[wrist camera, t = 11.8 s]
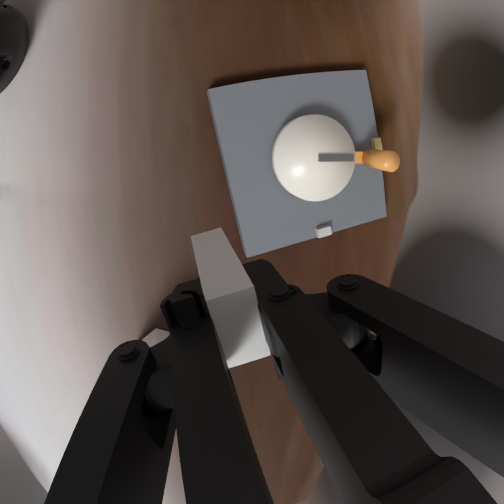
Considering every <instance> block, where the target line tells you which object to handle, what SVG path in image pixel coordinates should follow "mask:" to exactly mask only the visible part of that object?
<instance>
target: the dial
mask: <svg viewBox="0 0 504 504" xmlns="http://www.w3.org/2000/svg"><path fill="white" fill-rule="evenodd" d="M355 164H364V165H365V166H367V167H370V168H375V169H380V170H384V171H389V172H394V171H396V170H397V169H398V167H399V164H400V159H399V156H398V154H397V153H396V152H394V151H388V150H380V149H371V148H368V149H366V150H365V151H355V149H354V145H353V142H352V139H351V137H350V135H349V134H348V132H347V131H346V129H345V128H344V127H343V126H342V125H341V124H340V123H339V122H337V121H336V120H334V119H332V118H330V117H328V116H324V115H318V114H313V115H305V116H300V117H297V118H294V119H292V120H290V121H289V122H288V123H286V124H285V125H284V126H283V127H282V128H281V129H280V130H279V132H278V133H277V135H276V137H275V139H274V141H273V145H272V149H271V165H272V170H273V172H274V175H275V177H276V179H277V181H278V182H279V183H280V185H281V186H282V187H283V188H284V189H285V190H286V191H288V192H289V193H291V194H292V195H294V196H297V197H299V198H301V199H304V200H307V201H323V200H327V199H329V198H332V197H333V196H335V195H337V194H338V193H339V192H341V191H342V190H343V189H344V188H345V186H346V185H347V184H348V182H349V180H350V179H351V176H352V174H353V171H354V166H355Z"/></svg>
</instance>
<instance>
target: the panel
mask: <svg viewBox="0 0 504 504" xmlns="http://www.w3.org/2000/svg"><path fill="white" fill-rule="evenodd" d="M207 97H208V101H209V105H210V110H211V114H212V118H213V123H214V127H215V131H216V136H217V140H218V144H219V149H220V153H221V157H222V161H223V166H224V170H225V174H226V179H227V183H228V187H229V191H230V196H231V200H232V204H233V208H234V213H235V217H236V221H237V225H238V229H239V234H240V238H241V242H242V246H243V250H244V253H245V255H246V256H247V258H248V257H251V256H255V255H258V254H261V253H265V252H268V251H272V250H275V249H278V248H282V247H285V246H289V245H292V244H295V243H299V242H302V241H306V240H309V239H312V238H316V237H318V238H321V237H325V236H328V235H332V232H336V231H339V230H343V229H346V228H349V227H353V226H356V225H359V224H363V223H366V222H369V221H373V220H376V219H380V218H383V217H386V204H385V192H384V182H383V173H382V170H380V169H375V168H370V167H367V166H365V165H364V164H355V166H354V171H353V174H352V176H351V179H350V180H349V182H348V184H347V185H346V186H345V188H344V189H343V190H342V191H341V192H339V193H338V194H337V195H335V196H333V197H332V198H329V199H327V200H323V201H307V200H304V199H301V198H299V197H297V196H294V195H292V194H291V193H289V192H288V191H286V190H285V189H284V188H283V187H282V186H281V185H280V183H279V182H278V181H277V179H276V177H275V175H274V172H273V170H272V165H271V149H272V145H273V141H274V139H275V137H276V135H277V133H278V132H279V130H280V129H281V128H282V127H283V126H284V125H285V124H286V123H288V122H289V121H290V120H292V119H294V118H297V117H300V116H305V115H313V114H318V115H324V116H328V117H330V118H332V119H334V120H336V121H337V122H339V123H340V124H341V125H342V126H343V127H344V128H345V129H346V131H347V132H348V134H349V135H350V137H351V139H352V142H353V145H354V149H355V151H365V150H366V149H368V148H371V149H380V150H382V144H381V138H378V134H377V127H376V121H375V115H374V109H373V103H372V98H371V93H370V88H369V83H368V78H367V73H366V70H348V71H332V72H319V73H308V74H299V75H290V76H282V77H275V78H268V79H261V80H255V81H249V82H243V83H237V84H232V85H226V86H221V87H217V88H212V89H208V90H207Z"/></svg>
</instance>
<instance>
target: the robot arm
mask: <svg viewBox="0 0 504 504" xmlns="http://www.w3.org/2000/svg"><path fill="white" fill-rule="evenodd" d="M5 1H6V0H0V93H1V92H2V91H3V90H4V89H5V88H6V87H7V86H8V84H9V83H10V82H11V81H12V79H13V78H14V76H15V75H16V73H17V71H18V70H19V68H20V66H21V63H22V61H23V59H24V56H25V53H26V49H27V45H28V26H27V22H26V20H25V18H24V17H23V15H22V14H21V13H20V12H19V11H17V10H16V9H15V8H13V7H11V6H9V5H6V4H2V3H3V2H5ZM191 240H192V245H193V249H194V254H195V259H196V263H197V268H198V272H199V277H200V278H198V279H195V280H191V281H188V282H185V283H181V284H178V285H177V286H176V287H175V289H174V290H173V293H172V294H170V295H169V296H167V297H166V298H165V299H164V300H163V301H162V302H161V305H160V307H161V309H162V312H163V314H164V317H165V319H166V322H167V324H168V327H169V333H170V335H169V336H168V337H167V338H166V339H164V340H163V341H161V342H159V343H158V344H156V345H154V346H152V347H149V346H148V344H147V343H146V342H145V341H142V340H132V341H127V342H125V343H122V344H121V345H119V346H118V347H117V348H115V349H114V350H113V352H112V353H111V354H110V356H109V358H108V360H107V362H106V364H105V366H104V368H103V370H102V372H101V374H100V376H99V378H98V380H97V382H96V384H95V386H94V388H93V390H92V392H91V394H90V397H89V399H88V401H87V403H86V405H85V407H84V409H83V412H82V414H81V416H80V418H79V420H78V423H77V425H76V427H75V429H74V431H73V434H72V436H71V438H70V441H69V443H68V445H67V448H66V450H65V452H64V455H63V457H62V460H61V462H60V464H59V467H58V469H57V472H56V474H55V477H54V479H53V482H52V484H51V487H50V490H49V492H48V495H47V498H46V500H45V503H44V504H162V500H163V495H164V489H165V483H166V478H167V472H168V467H169V462H170V456H171V451H172V446H173V441H174V436H175V430H176V429H177V438H178V447H179V455H180V463H181V471H182V478H183V485H184V491H185V498H186V504H274V502H273V499H272V497H271V494H270V491H269V488H268V486H267V483H266V480H265V477H264V474H263V471H262V469H261V466H260V463H259V460H258V457H257V454H256V451H255V448H254V445H253V442H252V439H251V436H250V433H249V430H248V427H247V424H246V421H245V418H244V415H243V412H242V408H241V405H240V402H239V399H238V396H237V393H236V389H235V386H234V383H233V379H232V376H231V374H230V371H229V368H231V367H234V366H238V365H241V364H244V363H247V362H251V361H254V360H257V359H260V358H263V357H266V356H269V355H270V351H269V348H270V350H271V352H272V356H273V361H274V365H275V369H276V373H277V378H278V380H280V379H282V381H283V383H284V385H285V387H286V389H287V392H288V394H289V396H290V398H291V400H292V402H293V404H294V406H295V408H296V410H297V412H298V414H299V416H300V418H301V420H302V422H303V424H304V426H305V428H306V430H307V432H308V434H309V436H310V438H311V440H312V442H313V444H314V446H315V448H316V450H317V452H318V454H319V456H320V458H321V460H322V462H323V464H324V466H325V468H326V470H327V472H328V474H329V476H330V478H331V480H332V481H333V483H334V485H335V487H336V489H337V491H338V493H339V495H340V497H341V499H342V501H343V503H344V504H497V503H496V501H495V500H494V499H493V498H492V497H491V495H490V494H489V493H488V492H487V491H486V489H485V488H484V487H483V486H482V484H481V483H480V482H479V481H478V480H477V478H476V477H475V476H474V475H473V473H472V472H471V471H470V470H469V469H468V467H466V466H465V465H464V464H463V463H462V462H461V461H460V460H458V459H456V458H454V457H452V456H451V457H440V456H438V455H437V454H436V453H435V452H433V450H432V449H431V448H430V447H429V446H428V444H427V443H426V442H425V441H424V439H423V438H422V437H421V435H420V434H419V433H418V432H417V430H416V429H415V428H414V427H413V426H412V424H411V423H410V422H409V421H408V419H407V418H406V417H405V416H404V414H403V413H402V412H401V411H400V409H399V408H398V407H397V406H396V404H394V402H396V403H397V404H399V405H400V406H401V407H403V408H404V409H405V410H407V411H408V412H410V413H411V414H412V415H414V416H415V417H417V418H418V419H419V420H421V421H422V422H424V423H425V424H426V425H428V426H429V427H431V428H432V429H434V430H435V431H436V432H438V433H439V434H441V435H442V436H443V437H445V438H446V439H448V440H449V441H451V442H452V443H454V444H455V445H456V446H458V447H459V448H461V449H462V450H464V451H465V452H467V453H468V454H470V455H471V456H473V457H474V458H475V459H477V460H479V461H480V462H481V463H483V464H485V465H486V466H487V467H489V468H490V469H492V470H493V471H495V472H496V473H498V474H499V475H501V476H502V477H504V342H502V341H501V340H499V339H497V338H494V337H492V336H490V335H488V334H486V333H484V332H482V331H480V330H478V329H476V328H473V327H471V326H469V325H467V324H465V323H463V322H461V321H459V320H457V319H455V318H452V317H450V316H448V315H446V314H444V313H442V312H440V311H437V310H435V309H433V308H431V307H429V306H427V305H424V304H422V303H420V302H418V301H416V300H414V299H412V298H409V297H407V296H405V295H403V294H401V293H398V292H396V291H394V290H392V289H390V288H388V287H385V286H383V285H381V284H379V283H377V282H374V281H372V280H370V279H368V278H365V277H363V276H360V275H354V274H345V275H340V276H338V277H336V278H333V279H332V280H331V281H329V283H328V284H327V292H325V293H318V294H304V293H303V292H302V290H301V289H300V288H298V287H297V286H294V285H290V284H287V283H286V282H285V280H284V279H283V278H282V277H281V275H280V274H279V273H278V272H277V270H276V269H275V268H274V267H273V265H272V264H271V263H270V262H268V261H266V260H263V259H259V260H256V261H253V262H249V263H246V264H241V262H240V261H239V259H238V257H237V255H236V254H235V252H234V250H233V248H232V246H231V245H230V243H229V241H228V239H227V238H226V236H225V234H224V232H223V230H222V229H221V228H218V229H214V230H211V231H207V232H204V233H200V234H197V235H193V236H191ZM370 330H371V331H373V332H374V333H375V334H376V335H377V337H376V336H374V335H372V334H371V333H370ZM268 346H269V347H268ZM391 399H392V400H393V401H394V402H393V401H392V400H391Z"/></svg>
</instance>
